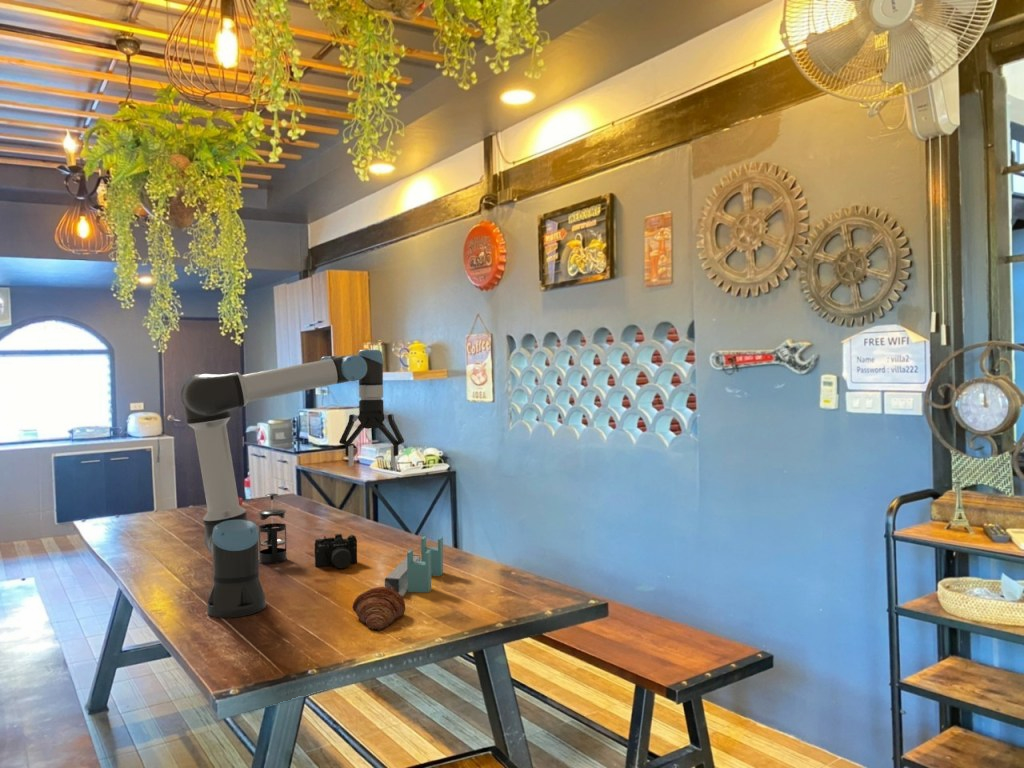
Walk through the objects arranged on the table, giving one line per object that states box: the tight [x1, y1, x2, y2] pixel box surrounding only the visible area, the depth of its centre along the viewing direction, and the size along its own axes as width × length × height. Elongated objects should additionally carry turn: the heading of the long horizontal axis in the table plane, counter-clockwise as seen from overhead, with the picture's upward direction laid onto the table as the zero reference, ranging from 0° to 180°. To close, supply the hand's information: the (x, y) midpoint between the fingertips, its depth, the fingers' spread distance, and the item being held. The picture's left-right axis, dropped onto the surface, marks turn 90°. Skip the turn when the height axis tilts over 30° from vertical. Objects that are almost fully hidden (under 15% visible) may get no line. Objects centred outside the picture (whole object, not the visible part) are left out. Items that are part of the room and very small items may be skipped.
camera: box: [314, 533, 358, 570], centre depth 250 cm, size 14×11×10 cm
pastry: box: [352, 586, 406, 631], centre depth 197 cm, size 17×15×8 cm
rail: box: [384, 554, 421, 593], centre depth 231 cm, size 28×4×4 cm, turn 174°
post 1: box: [406, 549, 432, 593], centre depth 221 cm, size 4×6×12 cm, turn 84°
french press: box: [258, 493, 288, 565], centre depth 259 cm, size 12×9×23 cm
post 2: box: [420, 535, 444, 577], centre depth 239 cm, size 4×6×12 cm, turn 84°
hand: (372, 466), depth 236 cm, fingers open, 13 cm apart
